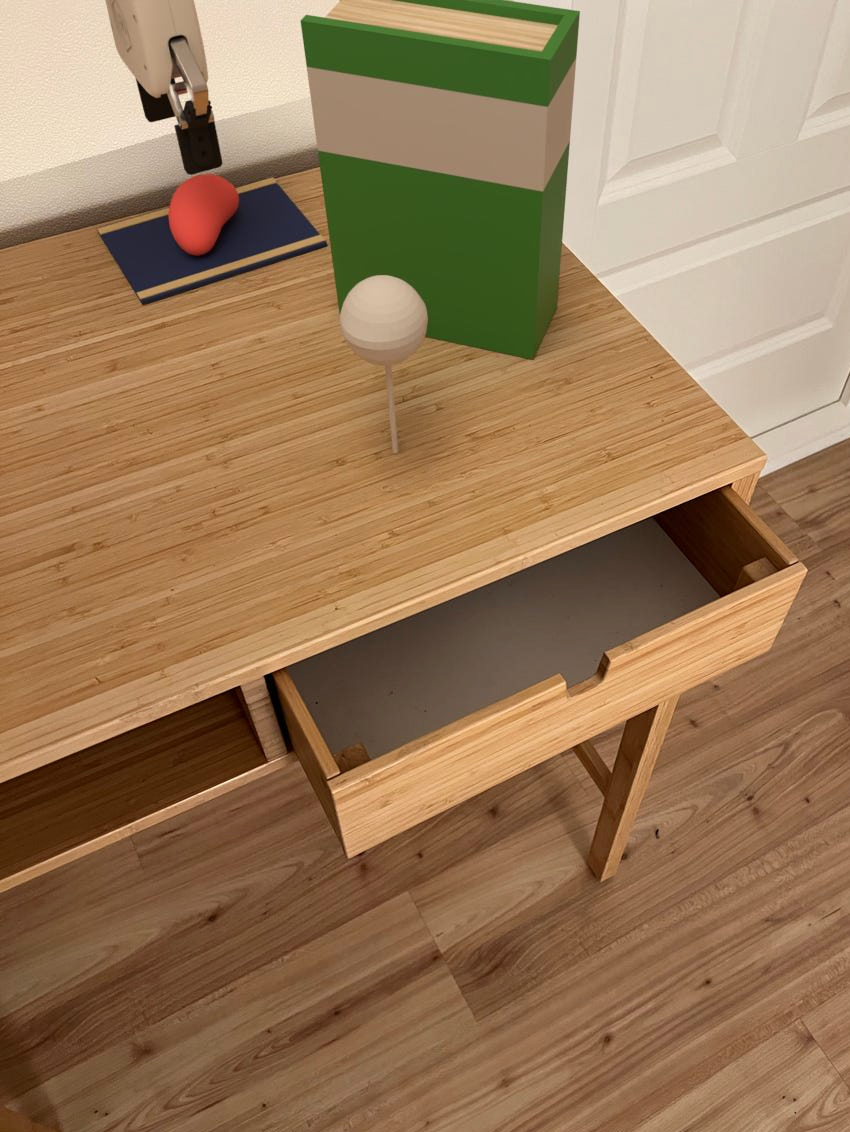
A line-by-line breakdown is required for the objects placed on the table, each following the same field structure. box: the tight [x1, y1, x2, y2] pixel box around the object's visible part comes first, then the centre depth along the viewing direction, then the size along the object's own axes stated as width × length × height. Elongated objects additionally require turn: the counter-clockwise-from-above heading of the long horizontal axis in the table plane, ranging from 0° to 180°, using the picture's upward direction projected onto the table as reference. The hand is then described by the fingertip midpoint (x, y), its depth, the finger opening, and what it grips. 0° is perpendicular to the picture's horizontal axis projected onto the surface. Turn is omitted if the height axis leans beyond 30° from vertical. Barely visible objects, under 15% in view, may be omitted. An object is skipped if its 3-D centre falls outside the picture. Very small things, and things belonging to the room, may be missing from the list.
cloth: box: [96, 176, 328, 306], centre depth 94 cm, size 18×13×1 cm
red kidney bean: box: [168, 173, 239, 256], centre depth 92 cm, size 5×9×6 cm, turn 156°
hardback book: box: [300, 0, 581, 361], centre depth 78 cm, size 18×7×24 cm, turn 72°
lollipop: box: [339, 275, 428, 454], centre depth 71 cm, size 6×6×15 cm
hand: (183, 142), depth 86 cm, fingers open, 9 cm apart
